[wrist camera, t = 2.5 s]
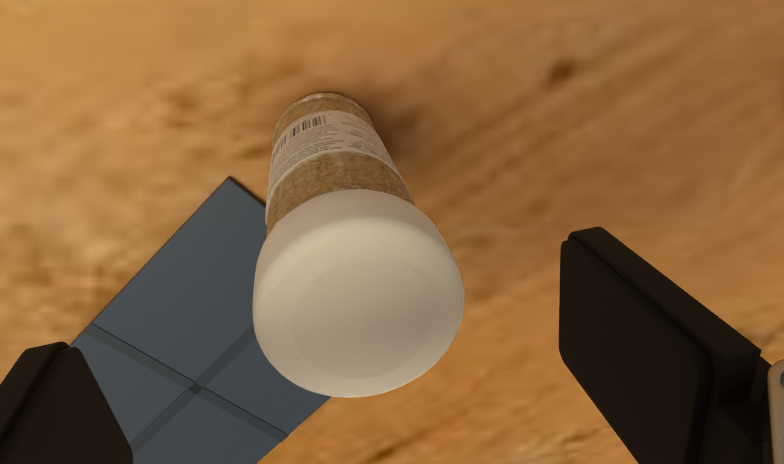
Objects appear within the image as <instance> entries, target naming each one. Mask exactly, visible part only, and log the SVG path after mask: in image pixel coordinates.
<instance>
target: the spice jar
mask: <svg viewBox="0 0 784 464" xmlns="http://www.w3.org/2000/svg"><path fill="white" fill-rule="evenodd" d="M272 148H273V153H272V158H271V165H270V173H269V182H268V192H267V202H266V214H265V221H266V225H267V238H266V240H265V242H264V244H263V246H262V249H261V252H260V254H259V257H258V261H257V265H256V271H255V280H254V290H253V324H254V331H255V335H256V338H257V341H258V343H259V345H260V347H261V349H262V351H263V353H264V355H265V356H266V358H267V359H268V360H269V362H270V363H271V364H272V365H273V366H274V368H275V369H276V370H277V371H278V372H280V373H281V374H282V375H283V376H284V377H285V378H287V379H288V380H290V381H291V382H293V383H294V384H296V385H298V386H300V387H302V388H304V389H306V390H309V391H311V392H315V393H319V394H323V395H327V396H333V397H344V398H355V397H366V396H373V395H378V394H382V393H386V392H388V391H391V390H394V389H396V388H399V387H401V386H403V385H405V384H408V383H409V382H411V381H413V380H414V379H416V378H418V377H419V376H421V375H422V374H424V373H425V372H426V371H428V370H429V369H430V368H431V367H432V366H433V365H435V364H436V362H437V361H438V360H439V359H440V358H441V357H442V356H443V355H444V353H445V352H446V351H447V349H448V348H449V347H450V345H451V343H452V341H453V340H454V338H455V336H456V334H457V331H458V329H459V327H460V323H461V320H462V316H463V309H464V287H463V282H462V278H461V274H460V272H459V269H458V267H457V264H456V262H455V260H454V258H453V256H452V254H451V252H450V250H449V248H448V246H447V245H446V243H445V241H444V239H443V238H442V236H441V234H440V233H439V231H438V229H437V228H436V226H435V225H434V224H433V222H432V221H431V220H430V219H429V218H428V217H427V216H426V215H425V214H424V213H423V212H421V211H420V210H419V209H418V208H416V206H415V203H414V201H413V200H412V197H411V194H410V192H409V190H408V188H407V186H406V184H405V182H404V180H403V179H402V177H401V175H400V173H399V172H398V170H397V168H396V166H395V165H394V163H393V161H392V159H391V158H390V156H389V154H388V152H387V150H386V148H385V146H384V144H383V143H382V141H381V139H380V137H379V136H378V134H377V133H376V130H375V128H374V126H373V124H372V121H371V119H370V117H369V115H368V114H367V113H366V111H365V110H364V109H363V108H362V107H360V106H359V105H358V104H357V103H356V102H355V101H354V100H352V99H349V98H347V97H345V96H342V95H339V94H334V93H314V94H310V95H308V96H306V97H302V98H300V99H299V100H297V101H296V102H295V103H292V104H291V105H290V106H288V107H287V108H286V110H285V111H284V112H283V114H282V115H281V116H280V118H279V120H278V121H277V124H276V127H275V131H274V134H273V137H272Z"/></svg>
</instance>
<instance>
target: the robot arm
mask: <svg viewBox="0 0 784 464" xmlns="http://www.w3.org/2000/svg"><path fill="white" fill-rule="evenodd" d="M559 351H560V354H561V357H562V360H563V362H564V363H565V365H566V366H567V367H568V369H569V370H570V371H571V373H572V374H573V375H574V377H575V378H576V380H577V381H578V382H579V384H580V385H581V386H582V388H583V389H584V390H585V392H586V393H587V394H588V396H589V397H590V398H591V400H592V401H593V403H594V404H595V405H596V407H597V408H598V409H599V411H600V412H601V413H602V415H603V416H604V417H605V419H606V420H607V421H608V423H609V424H610V425H611V427H612V428H613V430H614V431H615V432H616V434H617V435H618V436H619V438H620V439H621V440H622V442H623V443H624V444H625V446H626V447H627V448H628V450H629V451H630V453H631V454H632V455H633V457H634V458H635V459H636V461H637V462H638V463H639V464H784V359H783V360H780V361H777V362H776V363H775V364H774V365H771V364H769V363H768V362H767V361H766V360H764V359H763V358H762V357H760V353H761V349H759V348H758V347H757V346H755V345H754V344H753V343H751V342H750V341H749V340H748V339H746V338H745V337H744V336H742V335H741V334H740V333H738V332H737V331H736V330H735V329H733V328H732V327H731V326H729V325H728V324H727V323H725V322H724V321H723V320H722V319H720V318H719V317H718V316H716V315H715V314H714V313H713V312H711V311H710V310H709V309H707V308H706V307H705V306H703V305H702V304H701V303H700V302H698V301H697V300H696V299H694V298H693V297H692V296H690V295H689V294H688V293H687V292H685V291H684V290H683V289H681V288H680V287H679V286H677V285H676V284H675V283H674V282H672V281H671V280H670V279H668V278H667V277H666V276H664V275H663V274H662V273H661V272H659V271H658V270H657V269H655V268H654V267H653V266H651V265H650V264H649V263H648V262H646V261H645V260H644V259H642V258H641V257H640V256H638V255H637V254H636V253H635V252H633V251H632V250H631V249H629V248H628V247H627V246H625V245H624V244H623V243H622V242H620V241H619V240H618V239H616V238H615V237H614V236H612V235H611V234H610V233H609V232H607V231H606V230H605V229H603V228H601V227H593V228H588V229H584V230H579V231H574V232H571V233H570V234H569V236H568V240H566V241H563V242H562V244H561V258H560V306H559ZM133 461H134V460H133V452H132V449H131V446H130V445H129V443H128V441H127V439H126V437H125V435H124V433H123V431H122V429H121V427H120V425H119V423H118V421H117V419H116V417H115V416H114V414H113V412H112V410H111V408H110V406H109V404H108V402H107V400H106V398H105V396H104V394H103V392H102V390H101V388H100V387H99V385H98V383H97V381H96V379H95V377H94V375H93V373H92V371H91V369H90V367H89V365H88V363H87V361H86V359H85V358H84V356H83V354H82V352H81V351H80V349H78V348H77V347H71V348H70V346H69V345H68V344H67V343H65V342H57V343H52V344H47V345H43V346H38V347H33V348H29V349H26V350H25V351H24V352H23V353H22V354H21V356H20V357H19V359H18V360H17V361H16V363H15V364H14V366H13V367H12V369H11V370H10V372H9V373H8V374H7V376H6V377H5V379H4V380H3V382H2V383H1V384H0V464H133Z"/></svg>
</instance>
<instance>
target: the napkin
mask: <svg viewBox="0 0 784 464" xmlns="http://www.w3.org/2000/svg"><path fill="white" fill-rule="evenodd" d="M265 214H266V206H265V205H264V204H263V203H262V202H260V201H259V200H258V199H257V198H255V197H254V196H253V195H251V194H250V193H249V192H248V191H246V190H245V189H244V188H243V187H241V186H240V185H239V184H238V183H236V182H235V181H234V180H233V179H231V178H230V177H227V178H226V180H225V181H224V182H223V183H222V184H221V185H220V186H219V187H218V188H217V189H216V190H215V191H214V192H213V193H212V194H211V195H210V197H209V198H208V199H207V200H206V201H205V202H204V203H203V204H202V205H201V206H200V207H199V208H198V209H197V210H196V211H195V212H194V213H193V215H192V216H191V217H190V218H189V219H188V220H187V221H186V222H185V223H184V224H183V225H182V226H181V227H180V228H179V229H178V230H177V232H176V233H175V234H174V235H173V236H172V237H171V238H170V239H169V240H168V241H167V242H166V243H165V244H164V245H163V246H162V247H161V249H160V250H159V251H158V252H157V253H156V254H155V255H154V256H153V257H152V258H151V259H150V260H149V261H148V262H147V263H146V264H145V266H144V267H143V268H142V269H141V270H140V271H139V272H138V273H137V274H136V275H135V276H134V277H133V278H132V279H131V280H130V281H129V282H128V284H127V285H126V286H125V287H124V288H123V289H122V290H121V291H120V292H119V293H118V294H117V295H116V296H115V297H114V298H113V299H112V301H111V302H110V303H109V304H108V305H107V306H106V307H105V308H104V309H103V310H102V311H101V312H100V313H99V314H98V315H97V316H96V318H95V319H94V320H93V321H92V322H91V323H90V324H89V325H88V326H87V327H86V328H85V329H84V330H83V331H82V332H81V333H80V334H79V336H78V337H77V338H76V339H75V340H74V341H73V342H72V343H71V344H70V345H69V346H70V348H71V347H77V348H78V349H80V351H81V352H82V354H83V356H84V358H85V359H86V361H87V363H88V365H89V367H90V369H91V371H92V373H93V375H94V377H95V379H96V381H97V383H98V385H99V387H100V388H101V390H102V392H103V394H104V396H105V398H106V400H107V402H108V404H109V406H110V408H111V410H112V412H113V414H114V416H115V417H116V419H117V421H118V423H119V425H120V427H121V429H122V431H123V433H124V435H125V437H126V439H127V441H128V443H129V445H130V446H131V449H132V452H133V460H134V461H133V464H256V463H257V462H258V461H260V460H261V459H262V458H263V457H264V456H265V455H266V454H267V453H269V452H270V451H271V450H272V449H273V448H274V447H275V446H276V445H278V444H279V443H280V442H282V441H283V440H284V439H285V438H287V437H288V436H289V434H290V433H291V432H292V431H293V430H295V429H296V428H297V427H298V426H299V425H300V424H301V423H302V422H304V421H305V420H306V419H307V418H308V417H309V416H310V415H311V414H313V413H314V412H315V411H316V410H317V409H318V408H319V407H320V406H322V405H323V404H324V403H325V402H326V401H327V400H328V399H330V398H331V397H332V396H327V395H323V394H319V393H315V392H311V391H309V390H306V389H304V388H302V387H300V386H298V385H296V384H294V383H293V382H291V381H290V380H288V379H287V378H285V377H284V376H283V375H282V374H281V373H280V372H278V371H277V370H276V369H275V368H274V366H273V365H272V364H271V363H270V362H269V360H268V359H267V358H266V356H265V355H264V353H263V351H262V349H261V347H260V345H259V343H258V341H257V338H256V335H255V331H254V324H253V290H254V280H255V271H256V265H257V261H258V257H259V254H260V252H261V249H262V246H263V244H264V242H265V240H266V238H267V225H266V221H265Z"/></svg>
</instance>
